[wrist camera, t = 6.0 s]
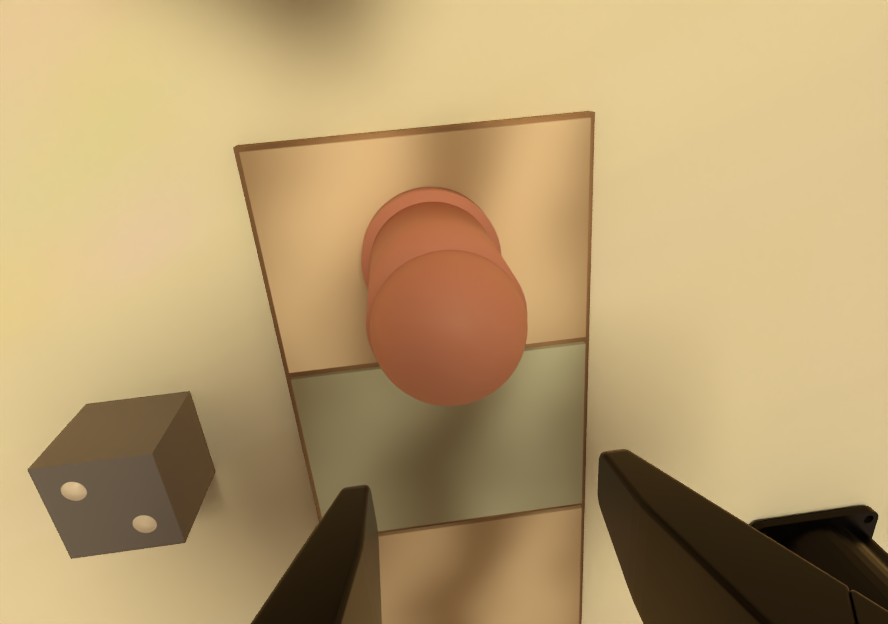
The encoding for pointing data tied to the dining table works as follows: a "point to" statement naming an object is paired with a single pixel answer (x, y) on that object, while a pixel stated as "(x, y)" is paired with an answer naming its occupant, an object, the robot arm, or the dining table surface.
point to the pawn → (441, 298)
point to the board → (432, 426)
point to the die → (126, 475)
